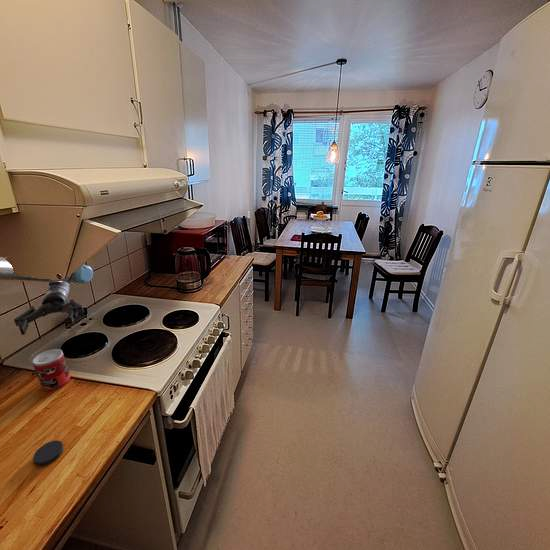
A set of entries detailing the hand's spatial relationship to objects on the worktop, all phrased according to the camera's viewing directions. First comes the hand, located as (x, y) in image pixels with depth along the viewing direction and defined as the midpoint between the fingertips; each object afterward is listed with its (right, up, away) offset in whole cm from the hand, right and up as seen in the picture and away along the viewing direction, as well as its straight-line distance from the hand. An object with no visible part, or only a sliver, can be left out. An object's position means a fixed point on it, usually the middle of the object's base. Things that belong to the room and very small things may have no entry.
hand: (47, 326), depth 98 cm
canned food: (+4, -19, -1) cm, 20 cm away
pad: (+20, -29, -24) cm, 43 cm away
